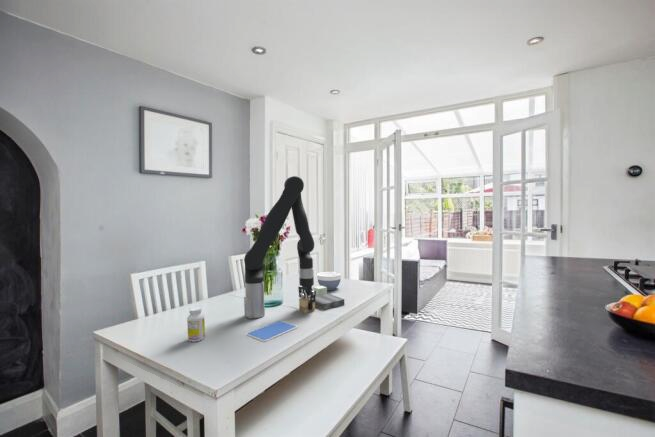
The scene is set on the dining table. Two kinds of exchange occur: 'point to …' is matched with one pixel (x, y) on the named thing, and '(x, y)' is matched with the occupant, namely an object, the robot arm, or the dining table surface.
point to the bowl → (329, 279)
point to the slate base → (328, 301)
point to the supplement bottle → (196, 325)
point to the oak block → (305, 305)
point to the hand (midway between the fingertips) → (307, 307)
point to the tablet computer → (271, 331)
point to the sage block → (320, 290)
